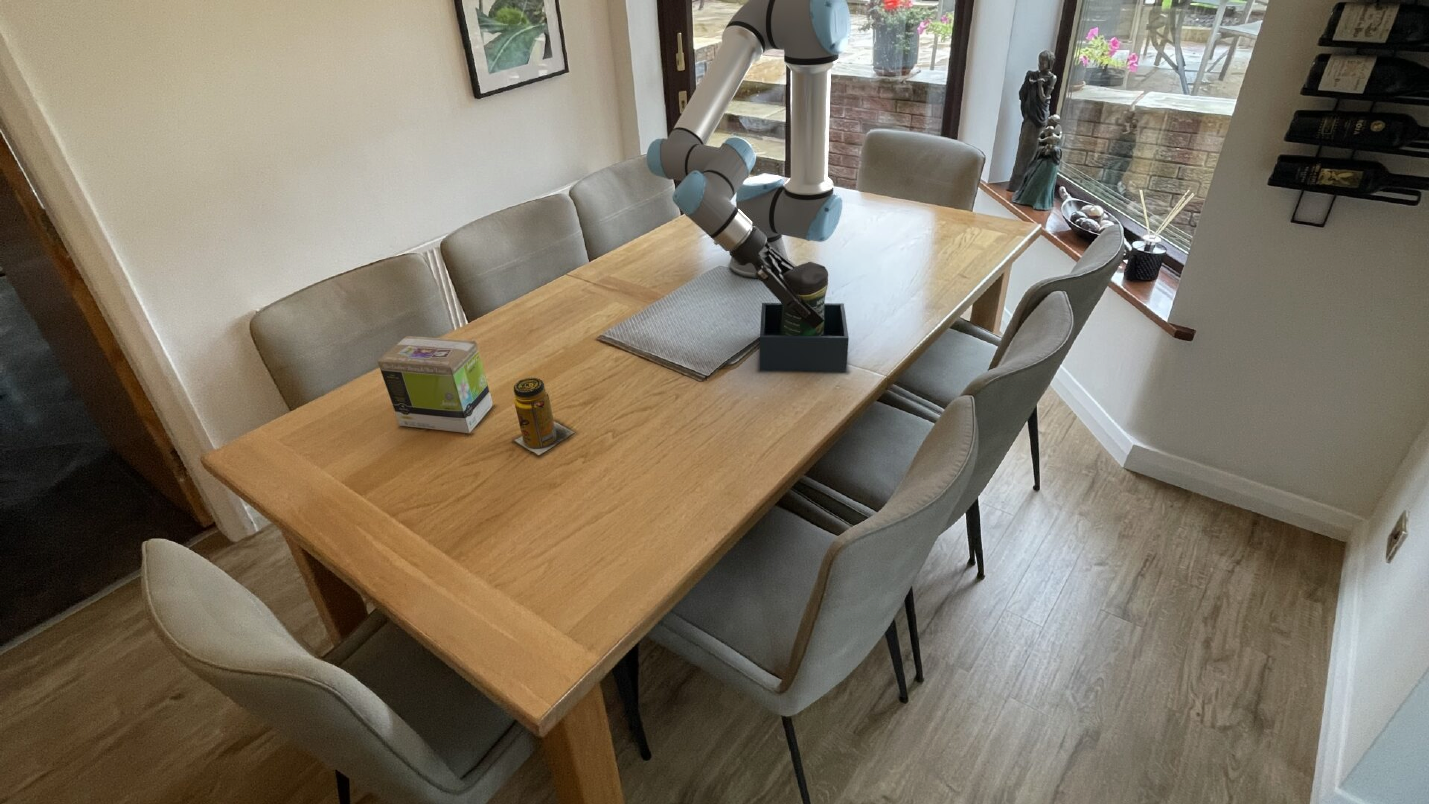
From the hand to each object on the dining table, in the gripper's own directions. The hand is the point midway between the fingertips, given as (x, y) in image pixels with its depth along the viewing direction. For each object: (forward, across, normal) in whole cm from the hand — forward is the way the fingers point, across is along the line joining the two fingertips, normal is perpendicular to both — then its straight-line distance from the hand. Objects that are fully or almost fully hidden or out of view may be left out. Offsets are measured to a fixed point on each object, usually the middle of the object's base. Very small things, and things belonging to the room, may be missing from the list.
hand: (818, 311), depth 150 cm
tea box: (-43, +25, -58) cm, 77 cm away
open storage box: (+5, 0, -9) cm, 10 cm away
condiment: (-28, +31, -43) cm, 60 cm away
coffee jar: (+4, 0, -9) cm, 10 cm away
